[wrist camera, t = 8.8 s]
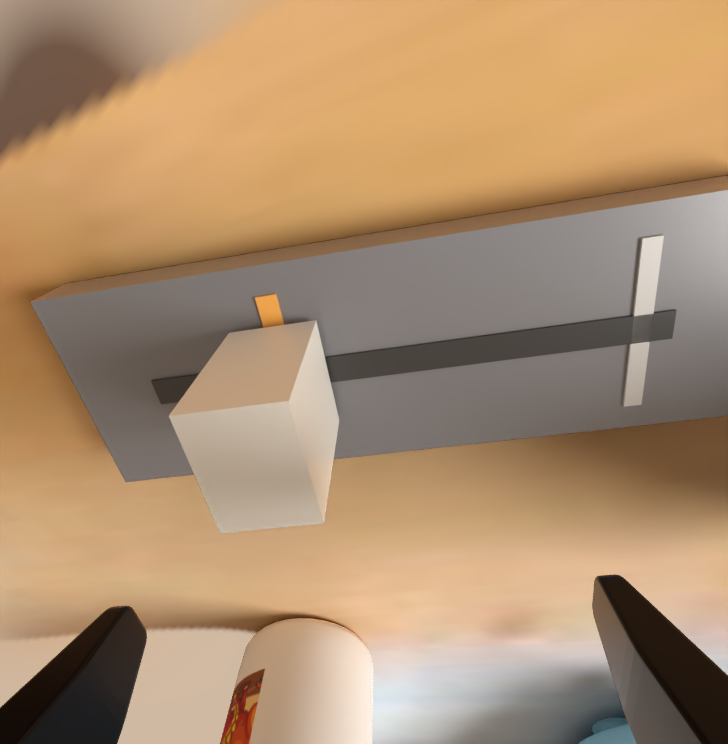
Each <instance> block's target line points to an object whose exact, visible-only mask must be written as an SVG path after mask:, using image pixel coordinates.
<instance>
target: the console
mask: <svg viewBox="0 0 728 744" xmlns="http://www.w3.org/2000/svg"><path fill="white" fill-rule="evenodd" d="M30 303H31V305H32V307H33V309H34V311H35V312H36V314H37V316H38V318H39V320H40V322H41V324H42V326H43V328H44V329H45V331H46V333H47V335H48V337H49V339H50V341H51V343H52V344H53V346H54V348H55V350H56V352H57V354H58V356H59V358H60V359H61V361H62V363H63V365H64V367H65V369H66V371H67V373H68V375H69V376H70V378H71V380H72V382H73V384H74V386H75V388H76V390H77V391H78V393H79V395H80V397H81V399H82V401H83V403H84V405H85V406H86V408H87V410H88V412H89V414H90V416H91V418H92V420H93V422H94V423H95V425H96V427H97V429H98V431H99V433H100V435H101V437H102V438H103V440H104V442H105V444H106V446H107V448H108V450H109V452H110V453H111V455H112V457H113V459H114V461H115V463H116V465H117V467H118V469H119V470H120V472H121V474H122V476H123V478H124V480H125V482H131V481H140V480H149V479H158V478H167V477H177V476H186V475H194V473H193V471H192V468H191V466H190V464H189V461H188V459H187V457H186V455H185V452H184V450H183V448H182V445H181V443H180V441H179V439H178V436H177V434H176V432H175V429H174V427H173V425H172V423H171V420H170V418H169V415H170V413H171V412H172V411H173V409H174V408H175V407H176V405H177V404H178V402H179V401H180V400H181V398H182V397H183V396H184V394H185V393H186V391H187V390H188V389H189V387H190V386H191V385H192V383H193V382H194V380H195V379H196V378H197V376H198V375H199V374H200V372H201V371H202V369H203V368H204V367H205V365H206V364H207V363H208V361H209V360H210V358H211V357H212V356H213V354H214V353H215V352H216V350H217V349H218V347H219V346H220V345H221V343H222V342H223V341H224V339H225V338H226V336H227V335H228V334H229V333H231V332H238V331H245V330H252V329H258V328H265V327H272V326H279V325H286V324H293V323H300V322H307V321H314V320H316V321H317V326H318V330H319V334H320V339H321V343H322V347H323V352H324V356H325V360H326V365H327V369H328V373H329V378H330V382H331V386H332V390H333V395H334V399H335V403H336V408H337V412H338V416H339V426H338V433H337V440H336V446H335V453H334V459H341V458H350V457H359V456H368V455H377V454H386V453H395V452H404V451H414V450H423V449H432V448H441V447H450V446H459V445H468V444H477V443H487V442H496V441H505V440H514V439H523V438H532V437H541V436H550V435H559V434H569V433H578V432H587V431H596V430H605V429H614V428H623V427H632V426H642V425H651V424H660V423H669V422H678V421H687V420H696V419H705V418H715V417H724V416H728V175H726V176H719V177H713V178H707V179H701V180H695V181H689V182H683V183H677V184H671V185H664V186H658V187H652V188H646V189H640V190H634V191H628V192H622V193H616V194H609V195H603V196H597V197H591V198H585V199H579V200H573V201H567V202H561V203H554V204H548V205H542V206H536V207H530V208H524V209H518V210H512V211H506V212H499V213H493V214H487V215H481V216H475V217H469V218H463V219H457V220H451V221H444V222H438V223H432V224H426V225H420V226H414V227H408V228H402V229H396V230H390V231H383V232H377V233H371V234H365V235H359V236H353V237H347V238H341V239H335V240H328V241H322V242H316V243H310V244H304V245H298V246H292V247H286V248H280V249H273V250H267V251H261V252H255V253H249V254H243V255H237V256H231V257H225V258H218V259H212V260H206V261H200V262H194V263H188V264H182V265H176V266H170V267H163V268H157V269H151V270H145V271H139V272H133V273H127V274H121V275H115V276H108V277H102V278H96V279H90V280H84V281H78V282H72V283H66V284H64V285H62V286H60V287H58V288H56V289H54V290H52V291H50V292H48V293H46V294H44V295H42V296H40V297H38V298H36V299H34V300H32V301H31V302H30Z"/></svg>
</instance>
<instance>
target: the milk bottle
mask: <svg viewBox="0 0 728 744" xmlns="http://www.w3.org/2000/svg"><path fill="white" fill-rule="evenodd" d="M372 717H373V661H372V658H371V655H370V653H369V650H368V648H367V646H366V645H365V643H364V642H363V640H362V639H360V638H359V637H358V636H357V635H356V634H355V633H353V632H352V631H350V630H348V629H347V628H345V627H342V626H340V625H338V624H335V623H332V622H328V621H325V620H318V619H312V618H295V619H286V620H282V621H278V622H274V623H272V624H270V625H267V626H265V627H264V628H263V629H261V630H260V631H258V632H257V634H256V635H255V636H254V637H253V638H252V640H251V641H250V642H249V643H248V645H247V647H246V650H245V653H244V656H243V660H242V663H241V667H240V670H239V674H238V678H237V682H236V685H235V689H234V693H233V696H232V700H231V704H230V708H229V711H228V715H227V719H226V723H225V727H224V732H223V734H222V738H221V742H220V744H372Z"/></svg>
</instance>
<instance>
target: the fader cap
mask: <svg viewBox="0 0 728 744" xmlns="http://www.w3.org/2000/svg"><path fill="white" fill-rule="evenodd" d="M169 418H170V420H171V423H172V425H173V427H174V429H175V432H176V434H177V436H178V439H179V441H180V443H181V445H182V448H183V450H184V452H185V455H186V457H187V459H188V461H189V464H190V466H191V468H192V471H193V473H194V475H195V477H196V480H197V482H198V484H199V487H200V489H201V491H202V493H203V496H204V498H205V500H206V503H207V505H208V507H209V509H210V512H211V514H212V516H213V519H214V521H215V523H216V525H217V528H218V530H219V532H220V533H230V532H241V531H251V530H262V529H272V528H283V527H294V526H304V525H315V524H324V520H325V514H326V507H327V500H328V494H329V487H330V480H331V473H332V467H333V460H334V453H335V446H336V440H337V433H338V426H339V416H338V412H337V408H336V403H335V399H334V395H333V390H332V386H331V382H330V378H329V373H328V369H327V365H326V360H325V356H324V352H323V347H322V343H321V339H320V334H319V330H318V326H317V321H316V320H314V321H307V322H300V323H293V324H286V325H279V326H272V327H265V328H258V329H252V330H245V331H238V332H231V333H229V334H228V335H227V336H226V338H225V339H224V341H223V342H222V343H221V345H220V346H219V347H218V349H217V350H216V352H215V353H214V354H213V356H212V357H211V358H210V360H209V361H208V363H207V364H206V365H205V367H204V368H203V369H202V371H201V372H200V374H199V375H198V376H197V378H196V379H195V380H194V382H193V383H192V385H191V386H190V387H189V389H188V390H187V391H186V393H185V394H184V396H183V397H182V398H181V400H180V401H179V402H178V404H177V405H176V407H175V408H174V409H173V411H172V412H171V413H170V415H169Z"/></svg>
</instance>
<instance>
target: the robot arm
mask: <svg viewBox="0 0 728 744" xmlns="http://www.w3.org/2000/svg"><path fill="white" fill-rule="evenodd" d="M592 608H593V614H594V618H595V622H596V625H597V628H598V632H599V635H600V638H601V641H602V644H603V648H604V651H605V654H606V657H607V661H608V664H609V667H610V670H611V673H612V677H613V680H614V683H615V686H616V690H617V693H618V696H619V699H620V702H621V705H622V708H623V711H624V714H625V717H626V719H627V722H628V724H629V727H630V729H631V732H632V734H633V736H634V739H635V741H636V744H728V675H727V674H726V673H725V672H723V671H722V670H721V669H720V668H719V667H718V666H717V665H716V664H715V663H714V662H713V661H712V660H711V659H710V658H709V657H707V656H706V655H705V654H704V653H703V652H702V651H701V650H700V649H699V648H698V647H697V646H696V645H695V644H694V643H693V642H691V641H690V640H689V639H688V638H687V637H686V636H685V635H684V634H683V633H682V632H681V631H680V630H679V629H678V628H677V627H676V626H674V625H673V624H672V623H671V622H670V621H669V620H668V619H667V618H666V617H665V616H664V615H663V614H662V613H661V612H660V611H658V610H657V609H656V608H655V607H654V606H653V605H652V604H651V603H650V602H649V601H648V600H647V599H646V598H645V597H644V596H642V595H641V594H640V593H639V592H638V591H637V590H636V589H635V588H634V587H633V586H632V585H631V584H630V583H629V582H628V581H626V580H625V579H624V578H623V577H621V576H619V575H603V576H597V577H596V578H595V581H594V592H593V603H592ZM146 634H147V633H146V629H145V627H144V626H143V624H142V623H141V621H140V619H139V618H138V616H137V614H136V613H135V611H134V610H133V608H132V607H130V606H117V607H111V608H109V609H107V610H106V611H105V612H103V613H102V614H101V615H100V616H99V617H98V618H97V619H96V620H95V621H94V622H93V623H91V624H90V625H89V626H88V627H87V628H86V629H85V630H84V631H83V632H82V633H81V634H80V635H78V636H77V637H76V638H75V639H74V640H73V641H72V642H71V643H70V644H69V645H68V646H67V647H66V648H64V649H63V650H62V651H61V652H60V653H59V654H58V655H57V656H56V657H55V658H54V659H52V660H51V661H50V662H49V663H48V664H47V665H46V666H45V667H44V668H43V669H42V670H41V671H40V672H38V673H37V674H36V675H35V676H34V677H33V678H32V679H31V680H30V681H29V682H28V683H27V684H25V686H23V687H22V688H21V689H20V690H19V691H18V692H17V693H16V694H15V695H13V696H12V697H11V698H10V699H9V700H8V701H7V702H6V703H5V704H4V705H3V706H2V707H1V708H0V744H117V742H118V739H119V736H120V733H121V730H122V727H123V724H124V721H125V718H126V714H127V711H128V707H129V704H130V700H131V696H132V692H133V689H134V685H135V682H136V678H137V674H138V670H139V667H140V663H141V659H142V656H143V652H144V648H145V645H146V639H147V635H146Z"/></svg>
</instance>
